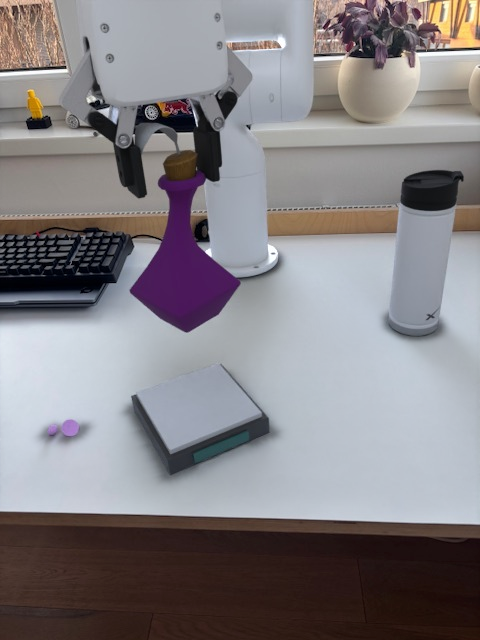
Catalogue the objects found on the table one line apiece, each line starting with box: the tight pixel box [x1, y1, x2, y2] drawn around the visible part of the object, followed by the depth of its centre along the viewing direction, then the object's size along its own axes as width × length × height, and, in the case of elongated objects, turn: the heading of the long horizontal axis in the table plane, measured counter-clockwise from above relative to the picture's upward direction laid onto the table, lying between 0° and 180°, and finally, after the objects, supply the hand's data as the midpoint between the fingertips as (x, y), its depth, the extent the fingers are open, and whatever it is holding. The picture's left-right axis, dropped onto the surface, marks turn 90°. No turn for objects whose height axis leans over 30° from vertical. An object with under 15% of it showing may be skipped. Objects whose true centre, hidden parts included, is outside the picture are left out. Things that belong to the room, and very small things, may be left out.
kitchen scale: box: [130, 362, 270, 475], centre depth 57 cm, size 11×11×3 cm
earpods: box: [47, 418, 80, 437], centre depth 58 cm, size 3×2×2 cm
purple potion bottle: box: [129, 122, 241, 333], centre depth 47 cm, size 8×8×18 cm
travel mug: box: [387, 169, 465, 337], centre depth 66 cm, size 6×7×20 cm
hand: (173, 183), depth 45 cm, fingers closed on purple potion bottle, 5 cm apart
